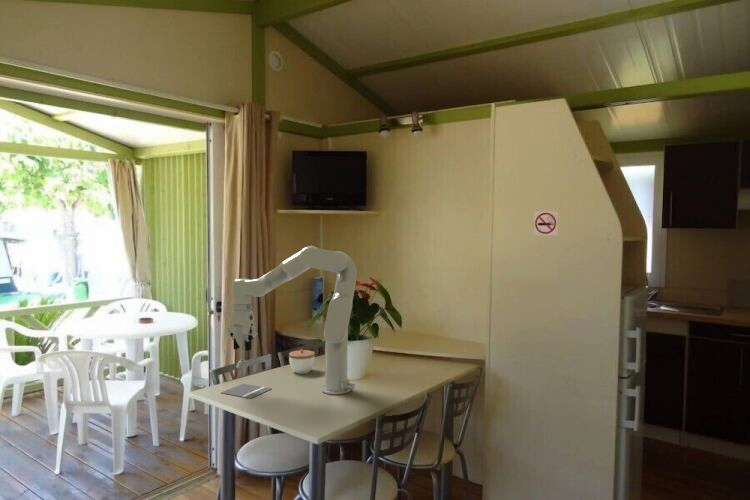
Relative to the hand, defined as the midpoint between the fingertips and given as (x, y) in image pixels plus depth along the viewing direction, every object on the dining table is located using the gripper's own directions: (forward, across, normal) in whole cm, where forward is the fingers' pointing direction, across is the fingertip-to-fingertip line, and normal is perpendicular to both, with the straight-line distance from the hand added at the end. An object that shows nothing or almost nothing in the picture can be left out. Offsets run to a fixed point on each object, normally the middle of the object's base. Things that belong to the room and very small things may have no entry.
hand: (242, 349), depth 216 cm
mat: (+18, -2, 0) cm, 18 cm away
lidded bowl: (+18, -6, -36) cm, 41 cm away
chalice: (+8, 0, 0) cm, 8 cm away
